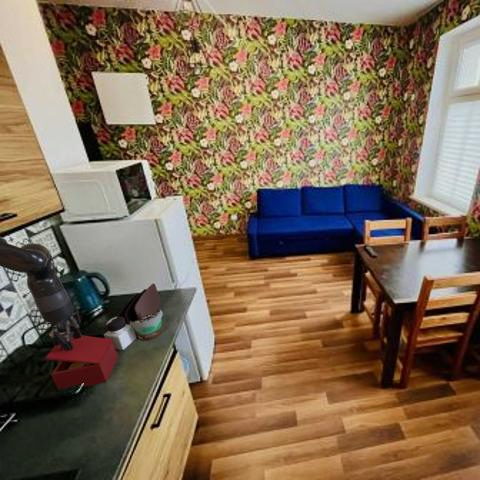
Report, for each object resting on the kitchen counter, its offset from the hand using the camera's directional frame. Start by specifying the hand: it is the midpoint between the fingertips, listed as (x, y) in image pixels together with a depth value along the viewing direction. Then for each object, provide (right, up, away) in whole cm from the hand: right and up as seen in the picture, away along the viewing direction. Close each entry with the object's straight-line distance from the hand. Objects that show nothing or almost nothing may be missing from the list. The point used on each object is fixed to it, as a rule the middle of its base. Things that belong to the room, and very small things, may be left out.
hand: (74, 343), depth 92 cm
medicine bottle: (+2, -8, +20) cm, 22 cm away
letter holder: (0, -2, +35) cm, 35 cm away
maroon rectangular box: (+1, -14, +6) cm, 15 cm away
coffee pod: (-2, -13, +5) cm, 14 cm away
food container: (+12, -6, +24) cm, 28 cm away
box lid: (+1, -3, +2) cm, 3 cm away
